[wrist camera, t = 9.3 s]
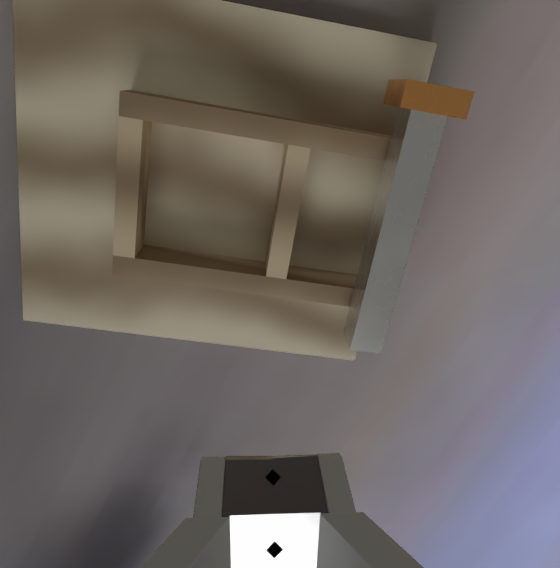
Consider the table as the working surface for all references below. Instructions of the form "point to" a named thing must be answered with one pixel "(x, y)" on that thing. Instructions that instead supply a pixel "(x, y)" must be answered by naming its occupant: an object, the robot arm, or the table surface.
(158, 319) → the dock
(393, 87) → the bar
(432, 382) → the table surface
